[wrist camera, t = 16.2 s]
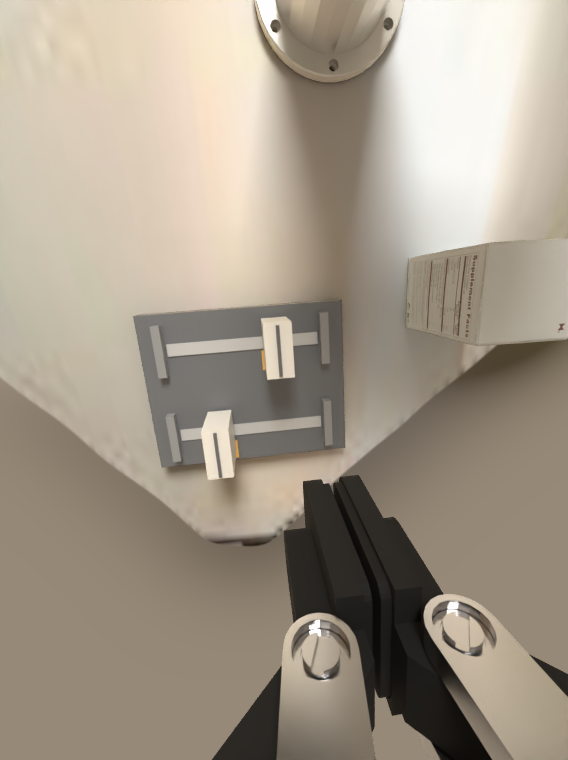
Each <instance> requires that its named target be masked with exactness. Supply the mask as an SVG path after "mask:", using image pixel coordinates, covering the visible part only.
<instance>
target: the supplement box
mask: <svg viewBox="0 0 568 760" xmlns="http://www.w3.org/2000/svg"><path fill="white" fill-rule="evenodd" d="M406 327H407V328H411V329H415V330H419V331H423V332H426V333H430V334H434V335H437V336H441V337H445V338H448V339H452V340H456V341H459V342H463V343H467V344H472V345H476V346H484V345H498V344H512V343H528V342H538V341H553V340H566V339H567V338H568V238H565V239H540V240H521V241H505V242H493V243H486V244H481V245H476V246H470V247H465V248H459V249H453V250H447V251H442V252H437V253H432V254H427V255H422V256H417V257H412V258H409V265H408V285H407V307H406Z"/></svg>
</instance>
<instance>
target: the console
mask: <svg viewBox="0 0 568 760" xmlns="http://www.w3.org/2000/svg"><path fill="white" fill-rule="evenodd" d="M284 316H286V317H287V318H288V319H289V320H290V321H291V322H292V338H293V353H294V369H295V377H293V378H282V379H271V380H267V375H266V369H265V360H264V349H263V338H262V326H261V318H272V317H284ZM133 318H134V323H135V328H136V334H137V339H138V344H139V350H140V355H141V360H142V366H143V371H144V376H145V381H146V387H147V392H148V397H149V403H150V408H151V413H152V419H153V424H154V429H155V435H156V440H157V445H158V450H159V456H160V461H161V466H162V468H163V467H172V466H181V465H190V464H199V463H205V457H204V450H203V443H202V437H201V430H202V427H203V424H204V421H205V419H206V416H207V413H208V412H213V411H223V410H231V412H232V420H233V428H234V436H235V445H236V459H245V458H254V457H263V456H272V455H281V454H291V453H300V452H309V451H318V450H327V449H336V448H345V423H344V381H343V339H342V300H337V299H336V300H323V301H310V302H297V303H284V304H271V305H258V306H245V307H232V308H219V309H206V310H194V311H181V312H168V313H155V314H142V315H137V316H133Z"/></svg>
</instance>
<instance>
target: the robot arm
mask: <svg viewBox="0 0 568 760" xmlns="http://www.w3.org/2000/svg"><path fill="white" fill-rule="evenodd" d="M404 1H405V0H254V3H255V7H256V11H257V16H258V20H259V22H260V25H261V28H262V30H263V33H264V35H265V37H266V39H267V41H268V42H269V44H270V46H271V47H272V49H273V51H274V52H275V53H276V54H277V55H278V56H279V58H280V59H281V60H282V61H283V62H284V63H285V64H286V65H287V66H289V67H290V68H291V69H292V70H294V71H295V72H296V73H298V74H300V75H302V76H304V77H306V78H308V79H312V80H316V81H320V82H339V81H344V80H348V79H350V78H353V77H355V76H357V75H359V74H361V73H362V72H364V71H365V70H366V69H368V68H369V67H370V66H372V65H373V64H374V62H375V61H376V60H377V59H378V58H379V57H380V56H381V55H382V53H383V52H384V50H385V48H386V47H387V45H388V44H389V42H390V40H391V39H392V37H393V35H394V33H395V31H396V29H397V27H398V24H399V21H400V17H401V14H402V11H403V7H404ZM385 29H386V30H385ZM273 31H276V32H277V33H275V32H273ZM330 69H333V70H334V72H333V71H331V70H330ZM333 489H334V494H333V492H332V490H331V487H330V485H329V483H328V484H323V482H322V480H321V479H320V480H311V481H303V494H304V509H305V525H306V528H302V529H294V530H286V531H284V542H285V554H286V564H287V574H288V581H289V582H288V583H289V591H290V598H291V606H292V614H293V622H294V624H293V625H292V626H291V627H290V629H289V630H288V632H287V634H286V636H285V640H284V645H283V657H282V666H281V667H280V669H279V670H278V671H277V673H276V674H275V675H274V677H273V678H272V679H271V681H270V682H269V683H268V685H267V686H266V688H265V689H264V690H263V691H262V693H261V694H260V696H259V697H258V698H257V700H256V701H255V702H254V704H253V705H252V706H251V708H250V709H249V711H248V712H247V713H246V714H245V716H244V717H243V719H242V720H241V721H240V723H239V724H238V725H237V727H236V728H235V729H234V731H233V732H232V734H231V735H230V736H229V737H228V739H227V740H226V742H225V743H224V744H223V745H222V747H221V748H220V750H219V751H218V752H217V754H216V755H215V756H214V758H213V759H212V760H376V758H375V751H374V745H373V738H372V731H373V729H374V726H375V725H374V723H375V722H374V719H375V718H374V717H375V715H374V713H375V707H374V706H375V705H374V704H375V701H374V699H375V690H376V693H377V695H378V697H379V698H383V697H386V699H387V701H388V704H389V708H390V711H391V714H392V716H393V715H398V714H402V715H403V718H404V720H405V722H406V723H407V724H409V725H410V726H411V727H413V728H414V729H415V730H417V731H418V732H419V737H420V740H421V743H422V745H423V748H424V750H425V752H426V754H427V756H428V758H429V760H568V674H566V673H564V672H563V671H561V670H559V669H557V668H555V667H553V666H551V665H549V664H547V663H545V662H543V661H541V660H539V659H537V658H535V657H533V656H531V655H529V654H528V653H527V652H526V651H525V650H524V649H523V648H522V646H521V645H520V644H519V643H518V642H517V641H516V640H515V639H514V638H513V637H512V635H511V634H510V633H509V632H508V631H507V630H506V629H505V628H504V627H503V626H502V624H501V623H500V622H499V621H498V620H497V619H496V618H495V617H494V616H493V615H492V614H491V613H490V612H489V611H488V610H486V609H485V608H484V607H483V606H481V605H480V604H478V603H476V602H475V601H473V600H471V599H468V598H466V597H463V596H460V595H453V594H445V595H444V594H443V592H442V591H441V589H440V588H439V586H438V584H437V583H436V582H435V580H434V578H433V577H432V575H431V573H430V572H429V570H428V569H427V567H426V565H425V564H424V562H423V561H422V559H421V557H420V556H419V554H418V553H417V551H416V549H415V548H414V546H413V545H412V543H411V541H410V540H409V538H408V537H407V535H406V533H405V532H404V530H403V529H402V527H401V525H400V524H399V522H398V521H397V520H396V519H395V518H394V517H390V518H383V517H382V515H381V513H380V512H379V510H378V508H377V506H376V505H375V503H374V501H373V499H372V498H371V496H370V494H369V492H368V491H367V489H366V487H365V485H364V484H363V482H362V480H361V478H360V477H359V475H355V476H346V477H340V478H339V482H337V483H334V485H333Z"/></svg>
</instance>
